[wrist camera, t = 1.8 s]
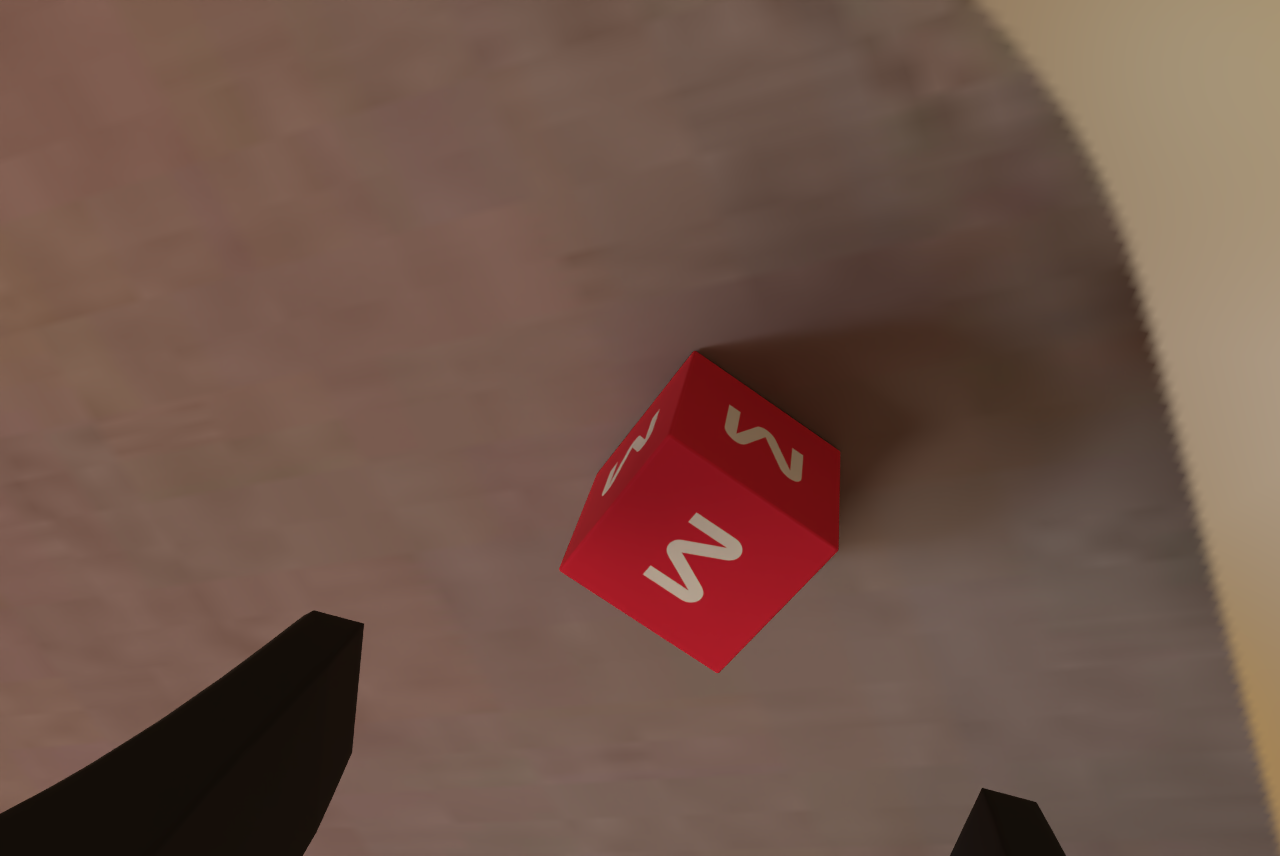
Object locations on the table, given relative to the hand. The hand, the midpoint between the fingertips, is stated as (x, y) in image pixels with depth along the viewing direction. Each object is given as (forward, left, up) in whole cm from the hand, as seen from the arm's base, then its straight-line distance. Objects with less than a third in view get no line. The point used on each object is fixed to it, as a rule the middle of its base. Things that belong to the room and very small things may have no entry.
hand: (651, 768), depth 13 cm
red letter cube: (0, 0, -8) cm, 8 cm away
